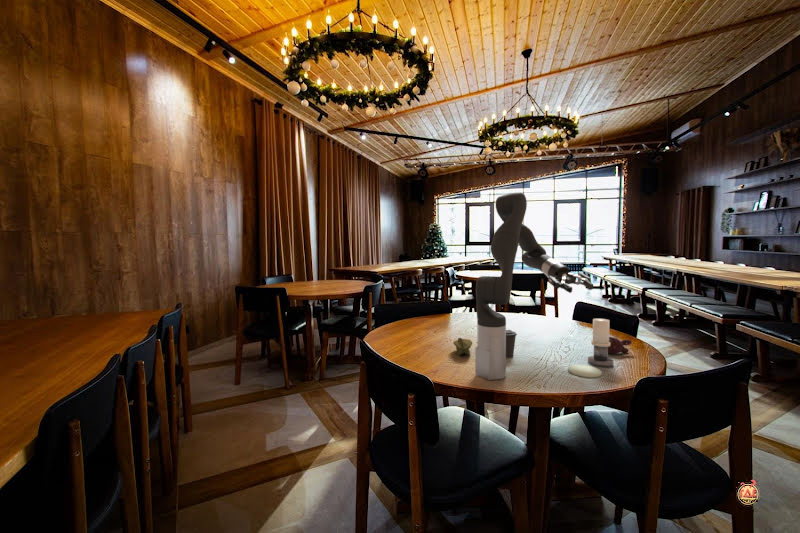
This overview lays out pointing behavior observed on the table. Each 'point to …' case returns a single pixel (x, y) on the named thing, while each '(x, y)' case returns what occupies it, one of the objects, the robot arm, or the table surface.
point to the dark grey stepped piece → (600, 357)
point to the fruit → (462, 346)
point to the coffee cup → (510, 343)
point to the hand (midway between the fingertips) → (581, 288)
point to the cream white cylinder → (601, 332)
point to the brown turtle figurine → (617, 345)
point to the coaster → (584, 371)
